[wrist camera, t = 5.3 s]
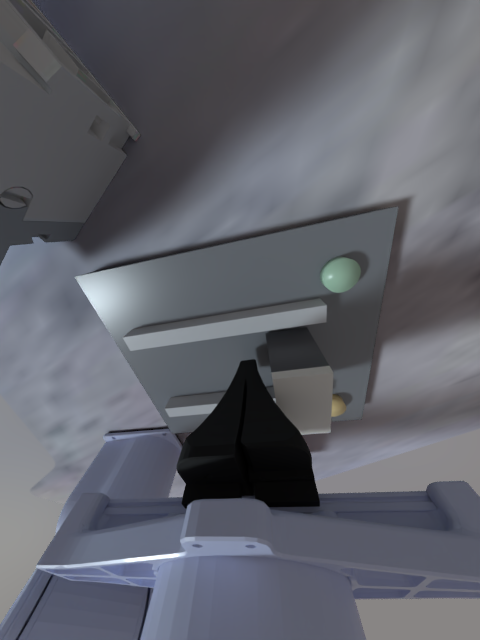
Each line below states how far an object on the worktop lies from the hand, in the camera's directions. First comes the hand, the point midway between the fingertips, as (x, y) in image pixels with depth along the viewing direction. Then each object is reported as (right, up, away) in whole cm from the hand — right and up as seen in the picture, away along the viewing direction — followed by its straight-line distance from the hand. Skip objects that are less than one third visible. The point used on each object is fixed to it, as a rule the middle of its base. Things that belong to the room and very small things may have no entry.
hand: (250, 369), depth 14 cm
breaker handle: (+3, +1, 0) cm, 3 cm away
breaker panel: (0, +1, +2) cm, 3 cm away
